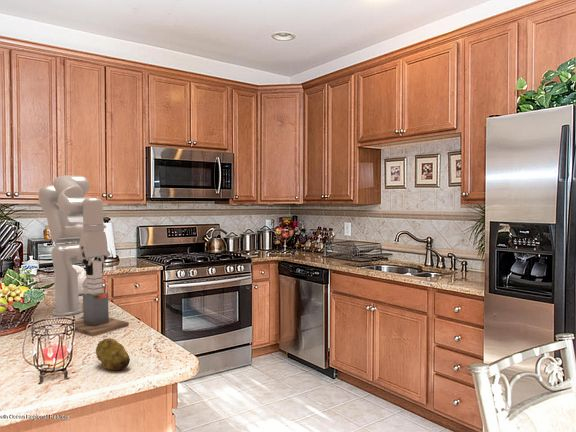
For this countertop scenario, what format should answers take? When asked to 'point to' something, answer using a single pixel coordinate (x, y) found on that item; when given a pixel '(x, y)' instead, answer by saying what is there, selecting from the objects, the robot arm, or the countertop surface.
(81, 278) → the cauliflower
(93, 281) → the steel post
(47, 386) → the countertop surface
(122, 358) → the potato
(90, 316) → the stand
